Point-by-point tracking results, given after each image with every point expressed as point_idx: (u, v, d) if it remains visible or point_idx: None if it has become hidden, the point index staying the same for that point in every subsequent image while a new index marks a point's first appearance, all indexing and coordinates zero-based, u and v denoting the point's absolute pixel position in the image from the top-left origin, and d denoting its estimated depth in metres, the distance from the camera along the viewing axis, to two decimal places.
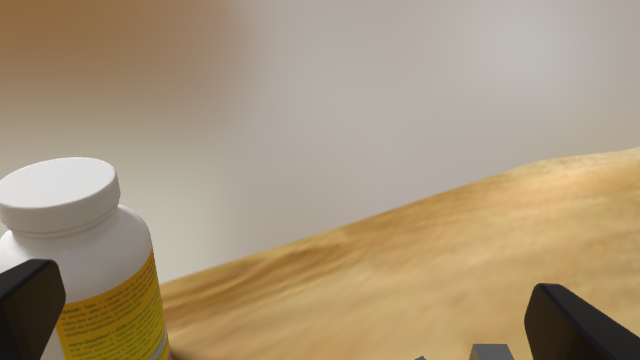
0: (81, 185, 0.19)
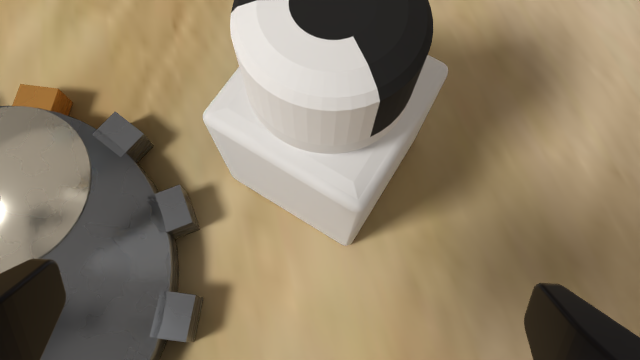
0: None
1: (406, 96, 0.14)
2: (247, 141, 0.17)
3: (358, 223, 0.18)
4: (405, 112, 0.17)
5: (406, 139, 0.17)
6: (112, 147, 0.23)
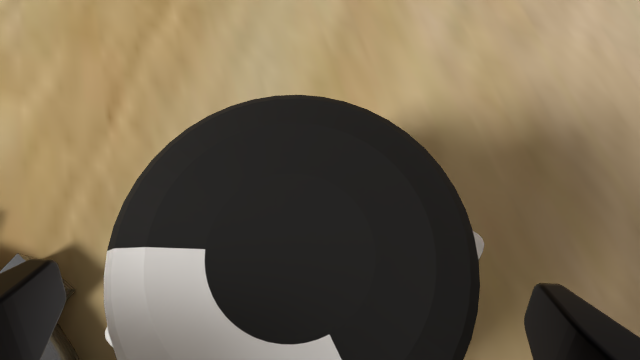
0: None
1: None
2: None
3: None
4: None
5: None
6: None
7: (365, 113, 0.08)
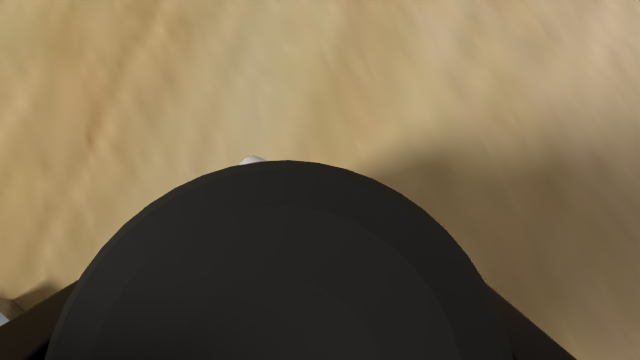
0: None
1: None
2: None
3: None
4: None
5: None
6: None
7: (372, 188, 0.06)
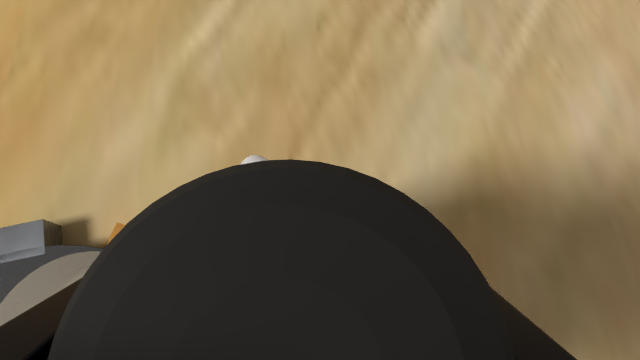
0: None
1: None
2: None
3: None
4: None
5: None
6: None
7: (374, 187, 0.06)
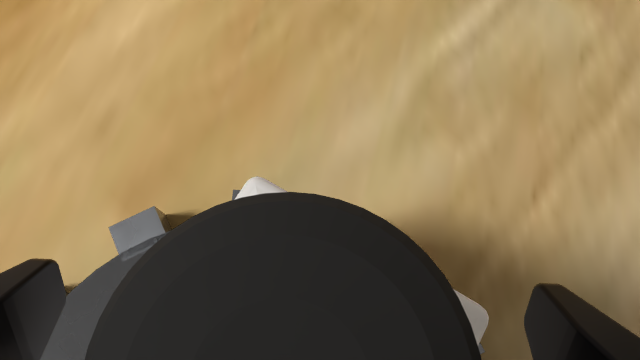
0: None
1: None
2: None
3: None
4: None
5: None
6: None
7: (362, 217, 0.07)
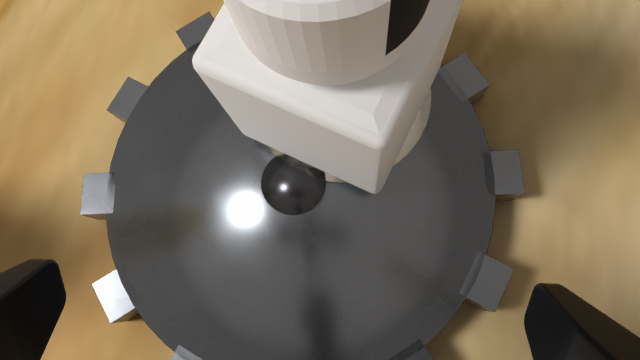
0: None
1: None
2: (245, 83, 0.15)
3: (384, 164, 0.16)
4: (425, 24, 0.15)
5: (430, 57, 0.15)
6: (455, 89, 0.22)
7: None
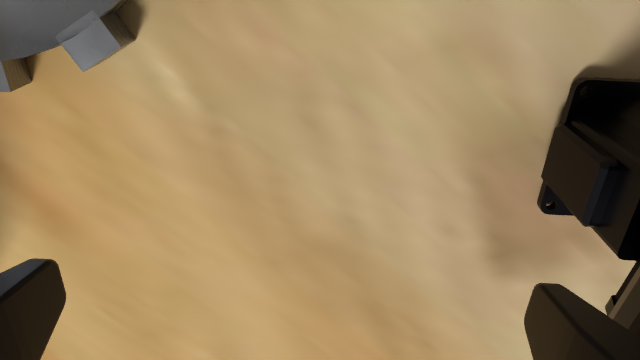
0: None
1: None
2: None
3: None
4: None
5: None
6: None
7: None
